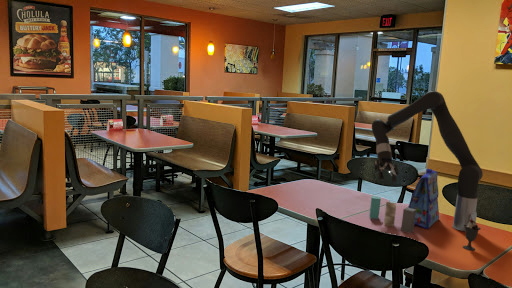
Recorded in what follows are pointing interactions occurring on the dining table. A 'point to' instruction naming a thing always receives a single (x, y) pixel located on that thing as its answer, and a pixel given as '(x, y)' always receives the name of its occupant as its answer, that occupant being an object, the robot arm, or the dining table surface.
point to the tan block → (390, 214)
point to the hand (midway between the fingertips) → (388, 180)
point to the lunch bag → (426, 200)
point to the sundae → (471, 233)
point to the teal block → (375, 207)
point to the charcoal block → (408, 220)
